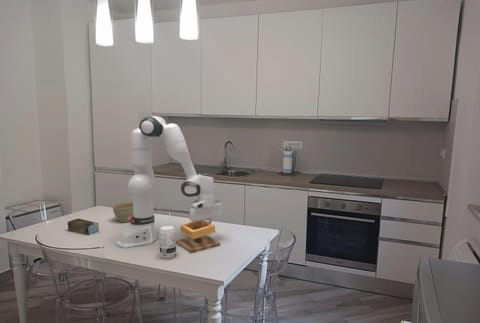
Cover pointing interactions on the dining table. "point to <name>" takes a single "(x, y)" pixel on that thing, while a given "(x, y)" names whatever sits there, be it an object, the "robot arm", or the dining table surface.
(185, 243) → the wooden peg stand
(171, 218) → the dining table surface
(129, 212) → the planter bowl
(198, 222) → the orange square tray
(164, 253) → the supplement can
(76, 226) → the beverage carton
